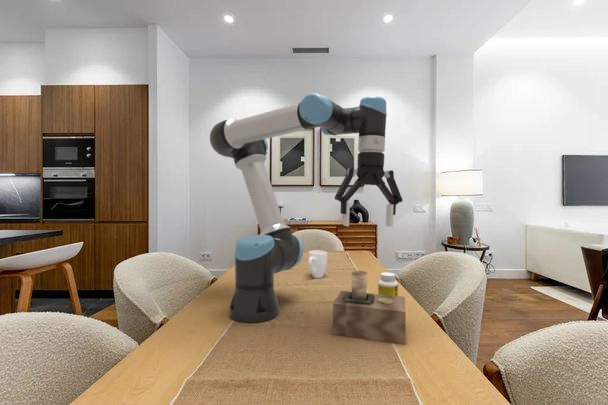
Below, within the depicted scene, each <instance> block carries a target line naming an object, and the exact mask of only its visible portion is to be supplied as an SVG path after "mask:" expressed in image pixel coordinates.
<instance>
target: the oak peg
mask: <svg viewBox="0 0 608 405" xmlns="http://www.w3.org/2000/svg"><path fill="white" fill-rule="evenodd" d="M367 275H368V272H366V271H364V270H363V271H362V270H353V271H351V292H352V299H356V300H365V301H366V300H367V292H368V291H367V289H368V288H367V286H368V285H367V282H368V281H367V280H368V279H367V278H368V277H367Z"/></svg>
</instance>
